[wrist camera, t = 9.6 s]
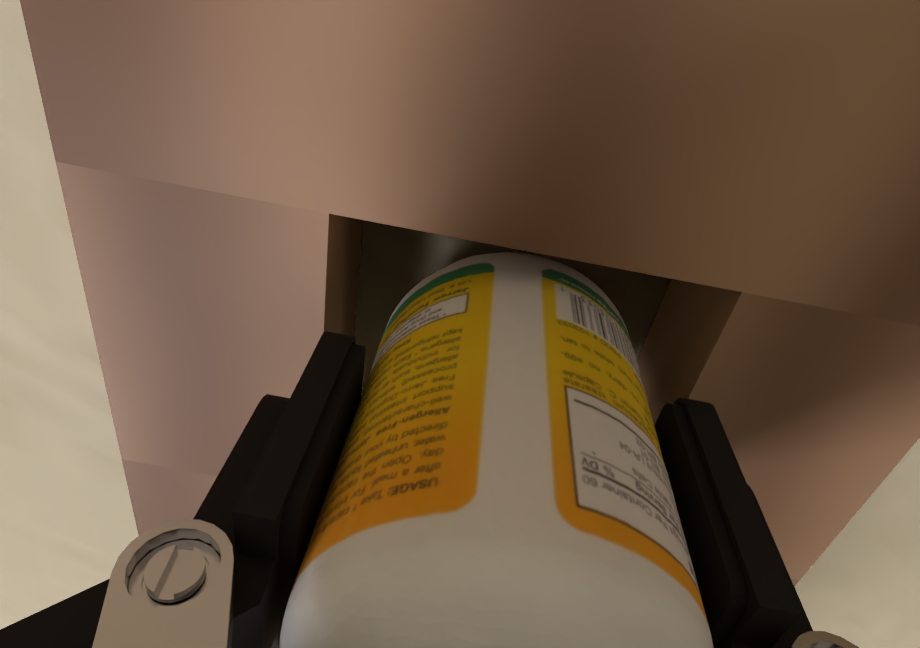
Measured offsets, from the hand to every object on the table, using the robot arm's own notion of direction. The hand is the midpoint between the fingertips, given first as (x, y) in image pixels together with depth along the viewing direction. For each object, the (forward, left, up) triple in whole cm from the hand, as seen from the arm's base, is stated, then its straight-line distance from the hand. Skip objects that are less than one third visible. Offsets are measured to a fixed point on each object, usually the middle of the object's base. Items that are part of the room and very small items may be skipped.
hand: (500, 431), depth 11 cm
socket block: (0, 0, -4) cm, 4 cm away
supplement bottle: (0, 0, -3) cm, 3 cm away
